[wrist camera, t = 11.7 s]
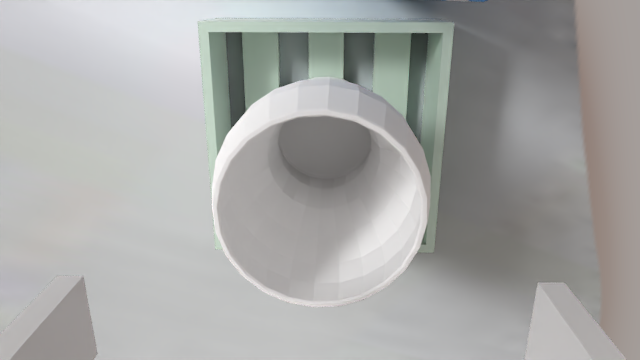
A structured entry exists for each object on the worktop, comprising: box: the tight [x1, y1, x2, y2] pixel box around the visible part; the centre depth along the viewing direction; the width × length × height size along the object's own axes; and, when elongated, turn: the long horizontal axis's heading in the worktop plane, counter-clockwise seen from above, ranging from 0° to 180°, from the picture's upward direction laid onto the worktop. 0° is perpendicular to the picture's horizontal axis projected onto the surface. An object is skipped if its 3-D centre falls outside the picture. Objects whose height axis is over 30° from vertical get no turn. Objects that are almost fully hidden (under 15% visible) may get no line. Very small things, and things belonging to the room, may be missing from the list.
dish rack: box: [198, 18, 455, 253], centre depth 35 cm, size 15×15×5 cm
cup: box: [212, 76, 431, 307], centre depth 29 cm, size 11×11×15 cm
